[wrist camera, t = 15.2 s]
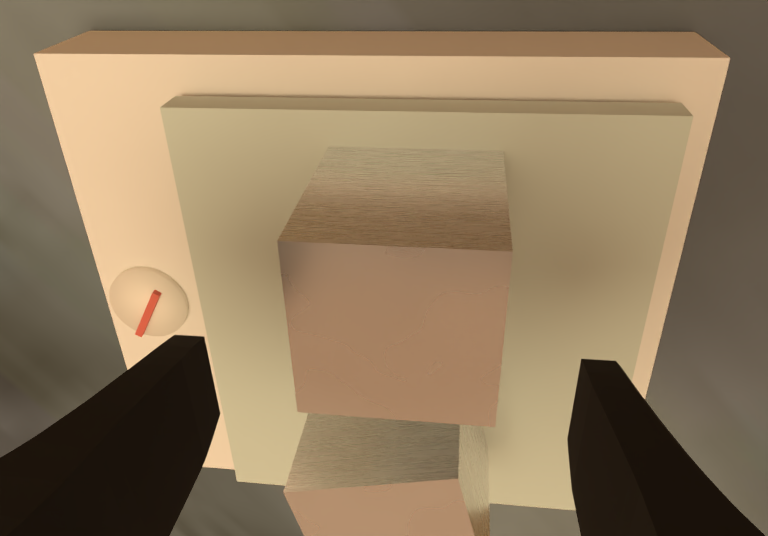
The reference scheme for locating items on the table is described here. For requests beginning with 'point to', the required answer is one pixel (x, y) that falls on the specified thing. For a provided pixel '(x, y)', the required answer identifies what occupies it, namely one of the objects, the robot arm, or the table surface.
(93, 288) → the table surface
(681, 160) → the pan
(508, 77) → the scale housing
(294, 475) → the tan brown block
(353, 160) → the tan brown block
